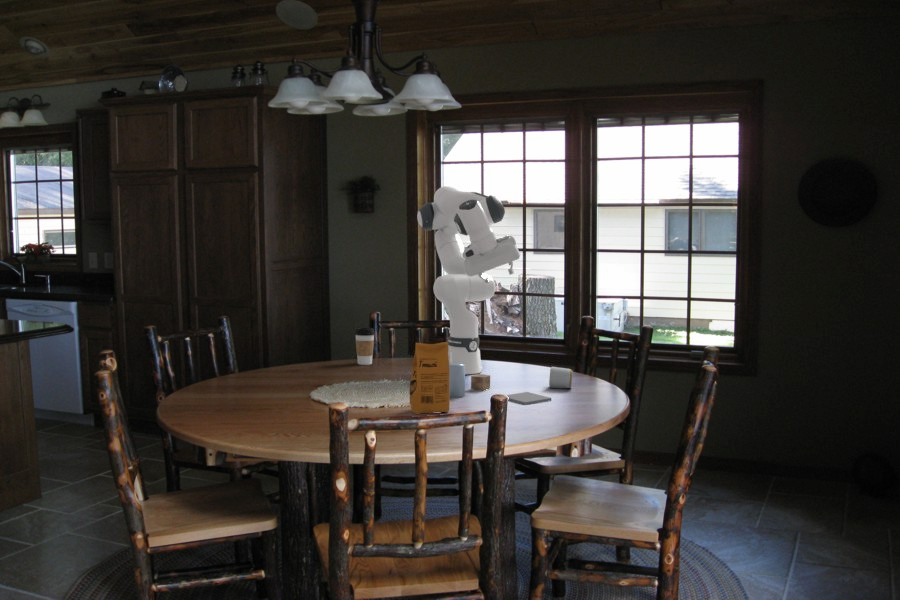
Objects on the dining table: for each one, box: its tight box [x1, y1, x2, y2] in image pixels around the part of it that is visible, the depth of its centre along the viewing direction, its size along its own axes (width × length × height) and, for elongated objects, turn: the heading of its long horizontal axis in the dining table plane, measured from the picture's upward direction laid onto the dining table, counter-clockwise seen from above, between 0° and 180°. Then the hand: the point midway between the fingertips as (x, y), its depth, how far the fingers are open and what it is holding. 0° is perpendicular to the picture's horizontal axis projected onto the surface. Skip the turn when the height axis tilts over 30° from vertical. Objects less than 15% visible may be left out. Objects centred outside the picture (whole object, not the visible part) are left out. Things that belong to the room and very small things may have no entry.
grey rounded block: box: [548, 366, 574, 390], centre depth 308 cm, size 11×8×8 cm
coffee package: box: [408, 341, 451, 415], centre depth 268 cm, size 10×12×22 cm
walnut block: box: [470, 373, 491, 392], centre depth 303 cm, size 5×5×5 cm
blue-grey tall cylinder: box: [449, 363, 466, 398], centre depth 291 cm, size 6×6×11 cm
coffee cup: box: [354, 327, 376, 366], centre depth 352 cm, size 8×8×15 cm
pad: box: [506, 391, 552, 405], centre depth 287 cm, size 12×12×1 cm
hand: (499, 278), depth 304 cm, fingers open, 8 cm apart
